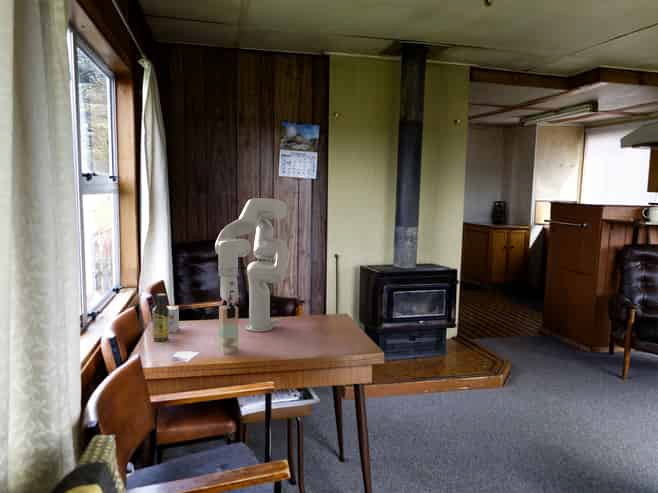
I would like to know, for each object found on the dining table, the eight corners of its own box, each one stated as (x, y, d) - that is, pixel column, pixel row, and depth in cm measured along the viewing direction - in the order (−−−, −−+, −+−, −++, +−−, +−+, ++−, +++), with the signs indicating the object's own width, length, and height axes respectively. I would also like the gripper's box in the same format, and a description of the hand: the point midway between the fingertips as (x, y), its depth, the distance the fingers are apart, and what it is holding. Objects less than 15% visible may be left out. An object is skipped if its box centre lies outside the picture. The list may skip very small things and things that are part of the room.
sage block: (233, 333, 202) (233, 319, 201) (238, 337, 196) (238, 322, 196) (219, 335, 199) (219, 320, 198) (223, 339, 194) (223, 324, 193)
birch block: (233, 347, 202) (233, 333, 202) (238, 352, 197) (238, 337, 196) (219, 349, 200) (219, 335, 199) (223, 354, 194) (223, 339, 194)
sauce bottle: (150, 340, 210) (149, 294, 208) (161, 336, 216) (160, 292, 213) (161, 342, 207) (160, 296, 205) (172, 339, 212) (171, 293, 210)
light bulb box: (151, 332, 222) (151, 309, 220) (155, 328, 228) (155, 305, 227) (176, 332, 223) (175, 309, 221) (179, 328, 229) (179, 305, 228)
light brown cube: (233, 319, 201) (233, 304, 200) (238, 322, 196) (238, 307, 195) (219, 320, 198) (219, 305, 198) (223, 324, 193) (223, 309, 192)
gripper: (244, 274, 189) (244, 320, 191) (231, 267, 204) (231, 310, 206) (224, 275, 185) (225, 322, 187) (213, 268, 201) (213, 311, 203)
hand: (228, 315), depth 197 cm, fingers open, 6 cm apart
